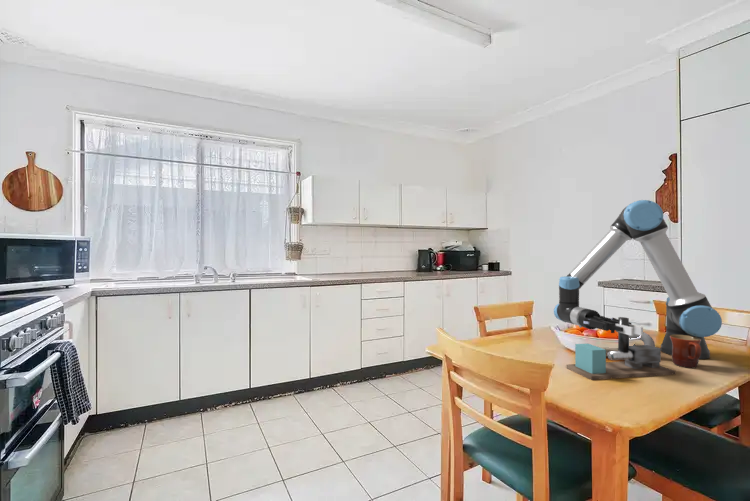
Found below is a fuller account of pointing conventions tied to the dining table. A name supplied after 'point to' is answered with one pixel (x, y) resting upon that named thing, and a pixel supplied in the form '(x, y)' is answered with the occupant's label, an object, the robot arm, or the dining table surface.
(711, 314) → the robot arm
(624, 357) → the slip tube
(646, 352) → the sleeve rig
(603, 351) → the socket block
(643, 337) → the grey curved piece
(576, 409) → the dining table surface
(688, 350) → the mug
